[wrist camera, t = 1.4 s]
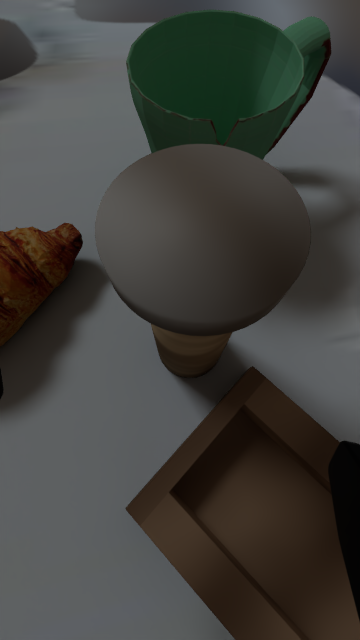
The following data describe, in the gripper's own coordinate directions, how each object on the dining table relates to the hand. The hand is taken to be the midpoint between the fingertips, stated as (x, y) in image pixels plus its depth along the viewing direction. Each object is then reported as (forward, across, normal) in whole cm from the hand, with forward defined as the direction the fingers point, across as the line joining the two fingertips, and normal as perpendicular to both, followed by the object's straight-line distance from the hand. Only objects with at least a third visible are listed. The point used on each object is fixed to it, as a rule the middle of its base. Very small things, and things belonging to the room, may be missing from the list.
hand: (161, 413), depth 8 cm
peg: (+12, 0, +5) cm, 13 cm away
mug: (+23, 0, -6) cm, 24 cm away
